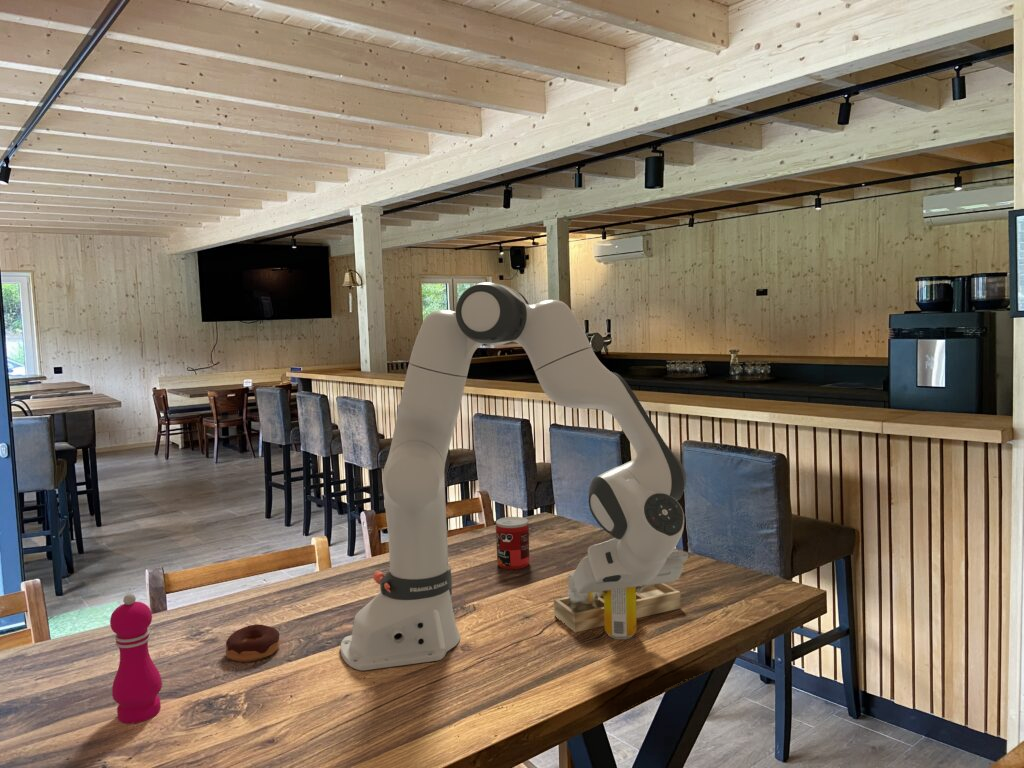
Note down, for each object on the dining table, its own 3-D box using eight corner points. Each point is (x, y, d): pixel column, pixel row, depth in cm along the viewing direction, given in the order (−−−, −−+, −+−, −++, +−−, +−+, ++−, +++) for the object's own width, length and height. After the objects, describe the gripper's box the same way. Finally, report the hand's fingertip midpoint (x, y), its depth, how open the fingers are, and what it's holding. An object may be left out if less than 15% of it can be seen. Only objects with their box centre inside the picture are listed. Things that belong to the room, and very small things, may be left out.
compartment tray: (575, 632, 149) (574, 615, 149) (554, 616, 157) (554, 599, 157) (680, 608, 159) (680, 591, 159) (656, 594, 167) (655, 578, 167)
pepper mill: (171, 700, 128) (161, 584, 126) (152, 724, 121) (142, 601, 119) (127, 702, 128) (116, 586, 126) (105, 726, 120) (94, 604, 118)
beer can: (635, 627, 151) (634, 553, 149) (637, 640, 145) (636, 563, 143) (604, 626, 151) (602, 552, 150) (605, 640, 145) (603, 563, 144)
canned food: (493, 561, 191) (492, 518, 190) (524, 557, 194) (522, 515, 193) (502, 571, 184) (500, 527, 183) (533, 567, 187) (532, 523, 185)
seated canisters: (577, 618, 151) (577, 584, 150) (563, 607, 156) (562, 574, 155) (638, 605, 156) (637, 571, 156) (622, 595, 162) (621, 563, 161)
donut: (249, 669, 139) (248, 648, 138) (214, 658, 144) (212, 637, 143) (292, 647, 147) (291, 627, 147) (257, 637, 152) (256, 617, 152)
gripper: (685, 535, 142) (663, 569, 152) (580, 547, 137) (564, 581, 147) (697, 566, 138) (673, 599, 148) (589, 580, 133) (572, 612, 143)
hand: (618, 590), depth 148 cm, fingers closed on beer can, 6 cm apart
